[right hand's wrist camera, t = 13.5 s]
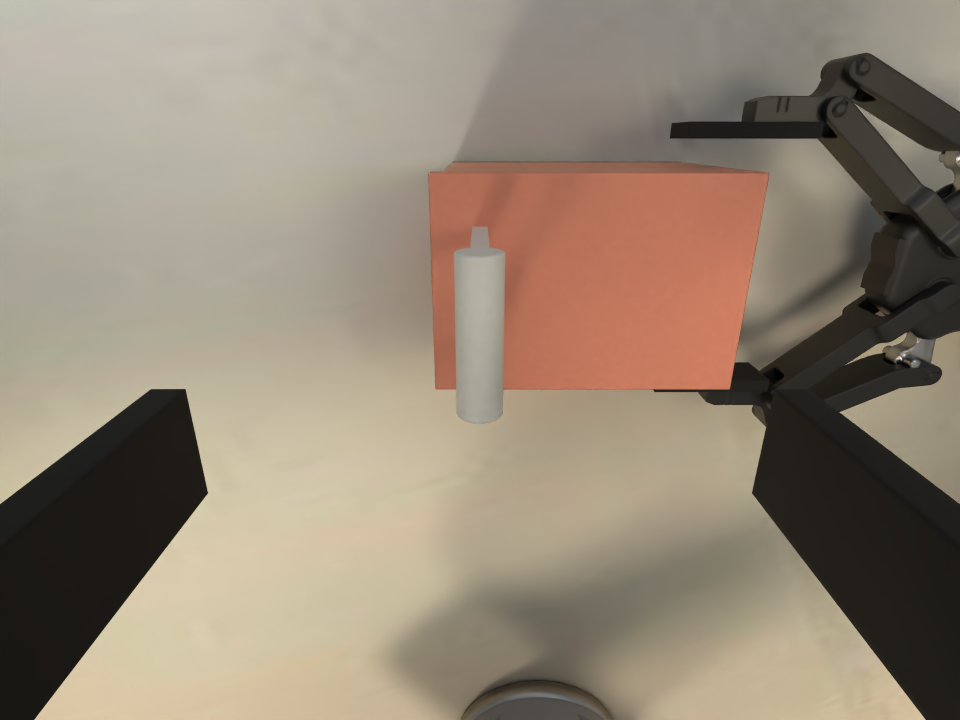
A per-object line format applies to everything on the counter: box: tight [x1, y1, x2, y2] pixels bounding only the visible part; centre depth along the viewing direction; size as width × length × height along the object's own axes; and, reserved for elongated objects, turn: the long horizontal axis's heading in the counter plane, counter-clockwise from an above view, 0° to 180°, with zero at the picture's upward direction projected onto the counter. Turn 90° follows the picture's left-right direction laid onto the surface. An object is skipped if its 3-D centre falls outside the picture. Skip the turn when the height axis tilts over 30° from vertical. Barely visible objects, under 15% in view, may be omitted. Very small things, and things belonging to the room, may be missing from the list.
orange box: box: [428, 172, 769, 424], centre depth 23 cm, size 15×10×8 cm
